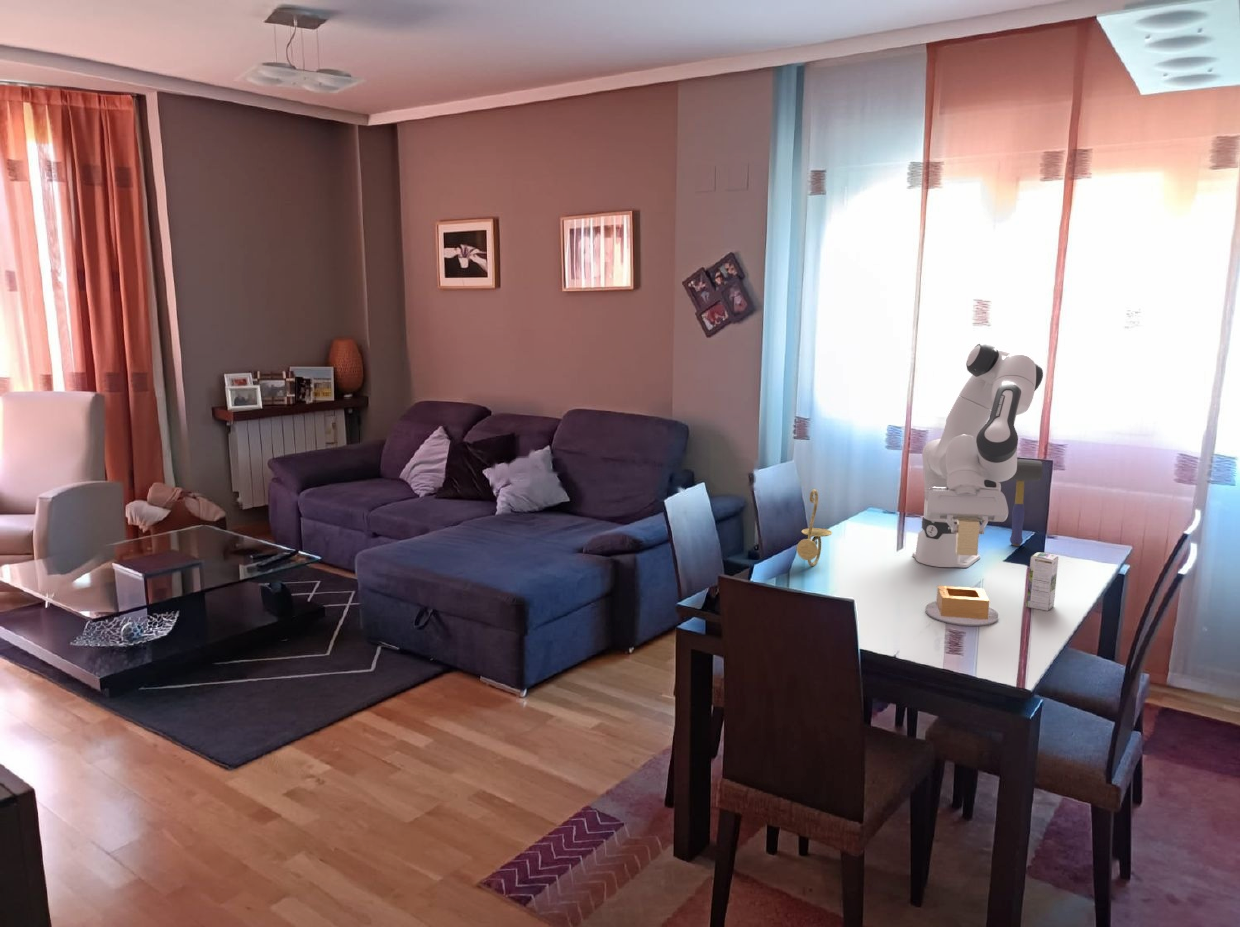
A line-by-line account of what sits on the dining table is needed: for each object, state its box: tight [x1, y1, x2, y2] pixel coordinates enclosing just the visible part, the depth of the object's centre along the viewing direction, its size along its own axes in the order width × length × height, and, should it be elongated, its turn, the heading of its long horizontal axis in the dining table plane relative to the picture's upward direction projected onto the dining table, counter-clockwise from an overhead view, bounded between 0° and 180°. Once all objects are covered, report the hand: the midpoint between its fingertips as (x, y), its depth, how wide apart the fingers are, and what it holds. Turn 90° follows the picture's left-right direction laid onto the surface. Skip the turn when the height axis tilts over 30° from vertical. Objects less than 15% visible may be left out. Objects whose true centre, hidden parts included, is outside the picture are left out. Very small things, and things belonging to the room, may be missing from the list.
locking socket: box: [925, 585, 999, 627], centre depth 233 cm, size 18×18×6 cm
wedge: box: [955, 518, 981, 556], centre depth 230 cm, size 4×5×9 cm
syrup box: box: [1025, 551, 1060, 612], centre depth 239 cm, size 6×6×14 cm
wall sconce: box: [796, 489, 833, 567], centre depth 277 cm, size 14×10×25 cm
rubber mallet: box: [1008, 458, 1044, 547], centre depth 300 cm, size 12×8×30 cm, turn 74°
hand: (968, 532), depth 229 cm, fingers closed on wedge, 5 cm apart
